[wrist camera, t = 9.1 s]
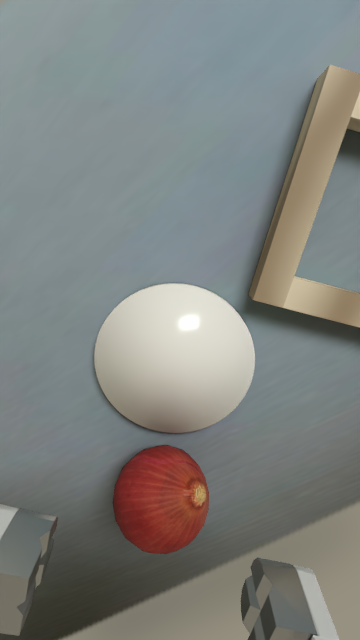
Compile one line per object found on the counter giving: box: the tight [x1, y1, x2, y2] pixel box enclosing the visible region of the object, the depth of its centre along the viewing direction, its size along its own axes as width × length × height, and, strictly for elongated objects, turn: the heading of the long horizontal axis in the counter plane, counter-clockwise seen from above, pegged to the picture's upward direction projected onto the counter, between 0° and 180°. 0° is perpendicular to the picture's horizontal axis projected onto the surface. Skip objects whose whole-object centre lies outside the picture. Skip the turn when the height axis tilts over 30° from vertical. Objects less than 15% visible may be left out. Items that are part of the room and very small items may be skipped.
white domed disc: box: [94, 283, 255, 433], centre depth 21 cm, size 10×10×1 cm
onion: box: [113, 445, 209, 554], centre depth 21 cm, size 6×6×8 cm
